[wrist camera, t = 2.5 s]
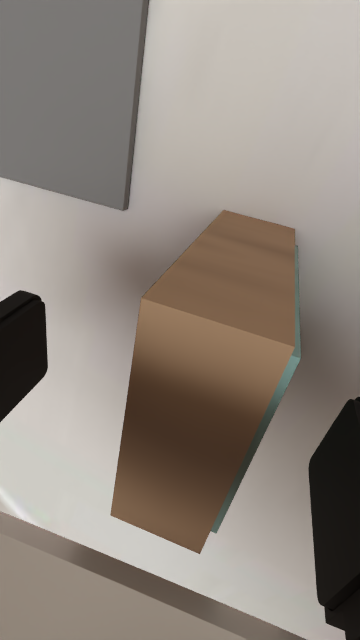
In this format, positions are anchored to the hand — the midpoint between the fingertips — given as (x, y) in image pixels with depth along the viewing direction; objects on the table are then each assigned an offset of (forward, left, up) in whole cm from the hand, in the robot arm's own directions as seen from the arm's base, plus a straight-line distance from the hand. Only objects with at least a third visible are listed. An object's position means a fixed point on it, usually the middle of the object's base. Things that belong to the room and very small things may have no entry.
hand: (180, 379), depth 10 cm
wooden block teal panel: (0, -1, -7) cm, 7 cm away
